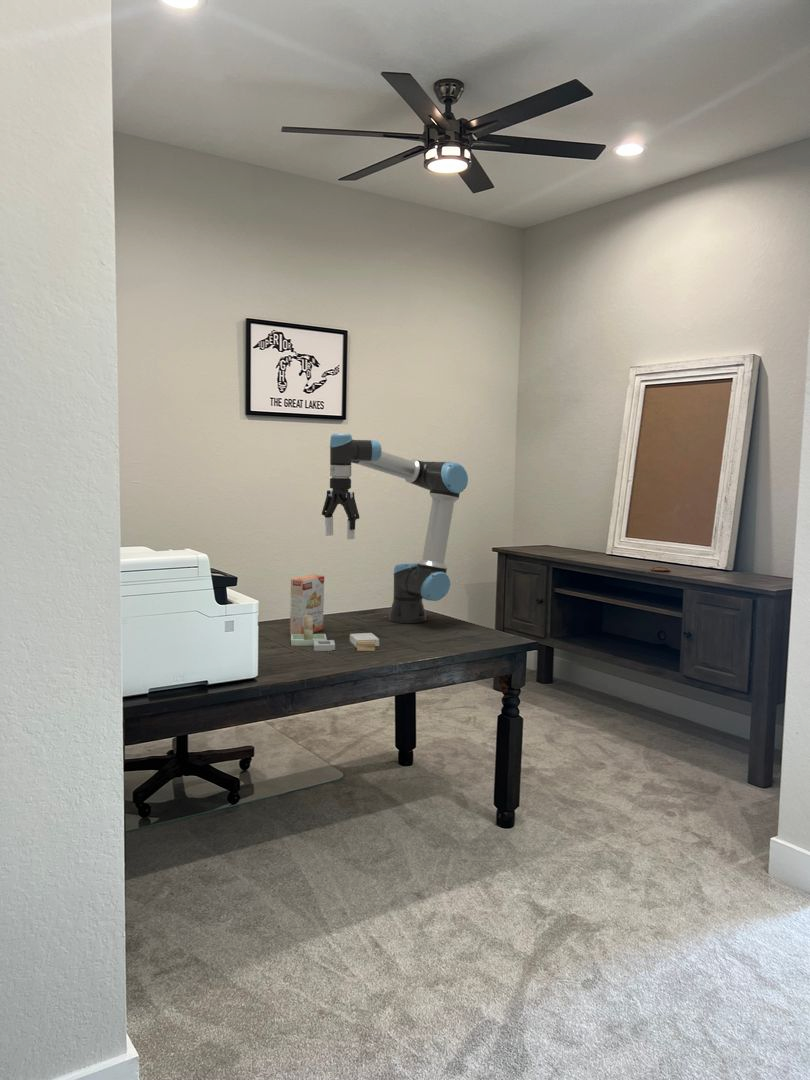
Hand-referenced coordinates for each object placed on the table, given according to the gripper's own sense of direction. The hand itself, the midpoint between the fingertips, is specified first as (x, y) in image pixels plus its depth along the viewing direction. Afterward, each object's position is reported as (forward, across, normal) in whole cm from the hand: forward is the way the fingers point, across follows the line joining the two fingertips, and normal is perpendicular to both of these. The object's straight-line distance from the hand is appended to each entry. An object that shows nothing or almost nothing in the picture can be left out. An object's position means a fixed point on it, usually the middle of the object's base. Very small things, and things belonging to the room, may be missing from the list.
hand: (339, 537), depth 278 cm
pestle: (+36, 0, -13) cm, 38 cm away
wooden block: (+37, +19, -2) cm, 41 cm away
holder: (+37, +10, -12) cm, 40 cm away
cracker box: (+37, -14, -4) cm, 40 cm away
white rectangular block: (+37, +12, +3) cm, 39 cm away
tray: (+37, 0, -12) cm, 39 cm away
